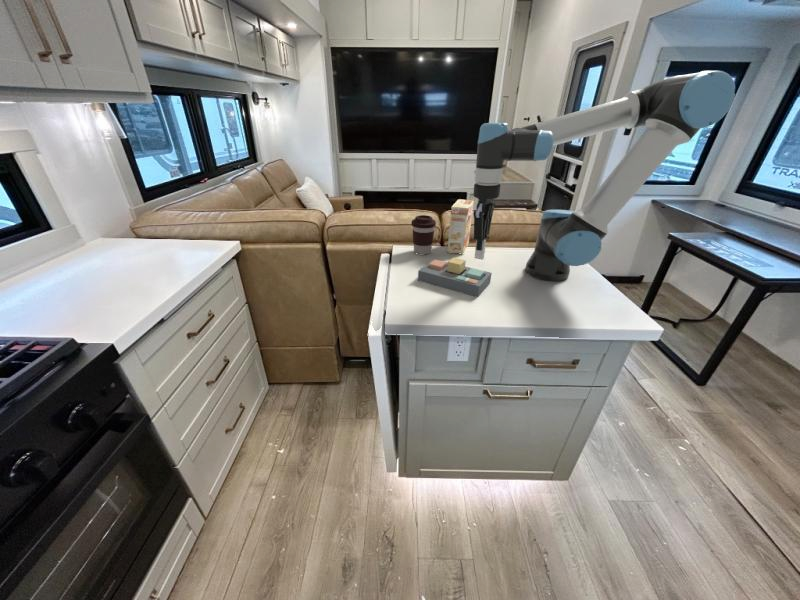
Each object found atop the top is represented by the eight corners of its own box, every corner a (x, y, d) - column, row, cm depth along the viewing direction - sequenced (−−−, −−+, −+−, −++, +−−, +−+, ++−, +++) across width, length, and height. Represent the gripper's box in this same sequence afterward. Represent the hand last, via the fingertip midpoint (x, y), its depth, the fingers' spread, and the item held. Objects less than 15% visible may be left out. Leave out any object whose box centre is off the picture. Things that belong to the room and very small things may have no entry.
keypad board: (490, 283, 113) (491, 271, 111) (477, 297, 104) (479, 285, 102) (433, 268, 123) (434, 258, 121) (417, 280, 114) (418, 269, 112)
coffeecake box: (463, 255, 135) (468, 208, 126) (446, 252, 138) (450, 206, 128) (469, 243, 148) (474, 200, 138) (453, 241, 150) (457, 198, 140)
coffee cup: (412, 247, 143) (412, 213, 135) (434, 248, 142) (436, 214, 134) (409, 255, 134) (410, 220, 127) (433, 257, 133) (435, 221, 126)
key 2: (483, 280, 111) (484, 271, 109) (478, 285, 107) (479, 276, 106) (470, 277, 113) (471, 268, 111) (465, 282, 110) (466, 272, 108)
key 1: (446, 271, 117) (446, 262, 115) (440, 275, 114) (441, 266, 112) (434, 268, 119) (435, 259, 118) (428, 272, 116) (429, 263, 114)
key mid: (464, 269, 113) (465, 260, 111) (459, 274, 109) (460, 264, 108) (452, 266, 115) (453, 257, 113) (447, 271, 112) (447, 261, 110)
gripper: (482, 178, 101) (475, 249, 112) (466, 185, 91) (460, 262, 103) (506, 180, 97) (496, 253, 109) (492, 188, 88) (483, 267, 99)
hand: (479, 258), depth 106 cm, fingers closed
